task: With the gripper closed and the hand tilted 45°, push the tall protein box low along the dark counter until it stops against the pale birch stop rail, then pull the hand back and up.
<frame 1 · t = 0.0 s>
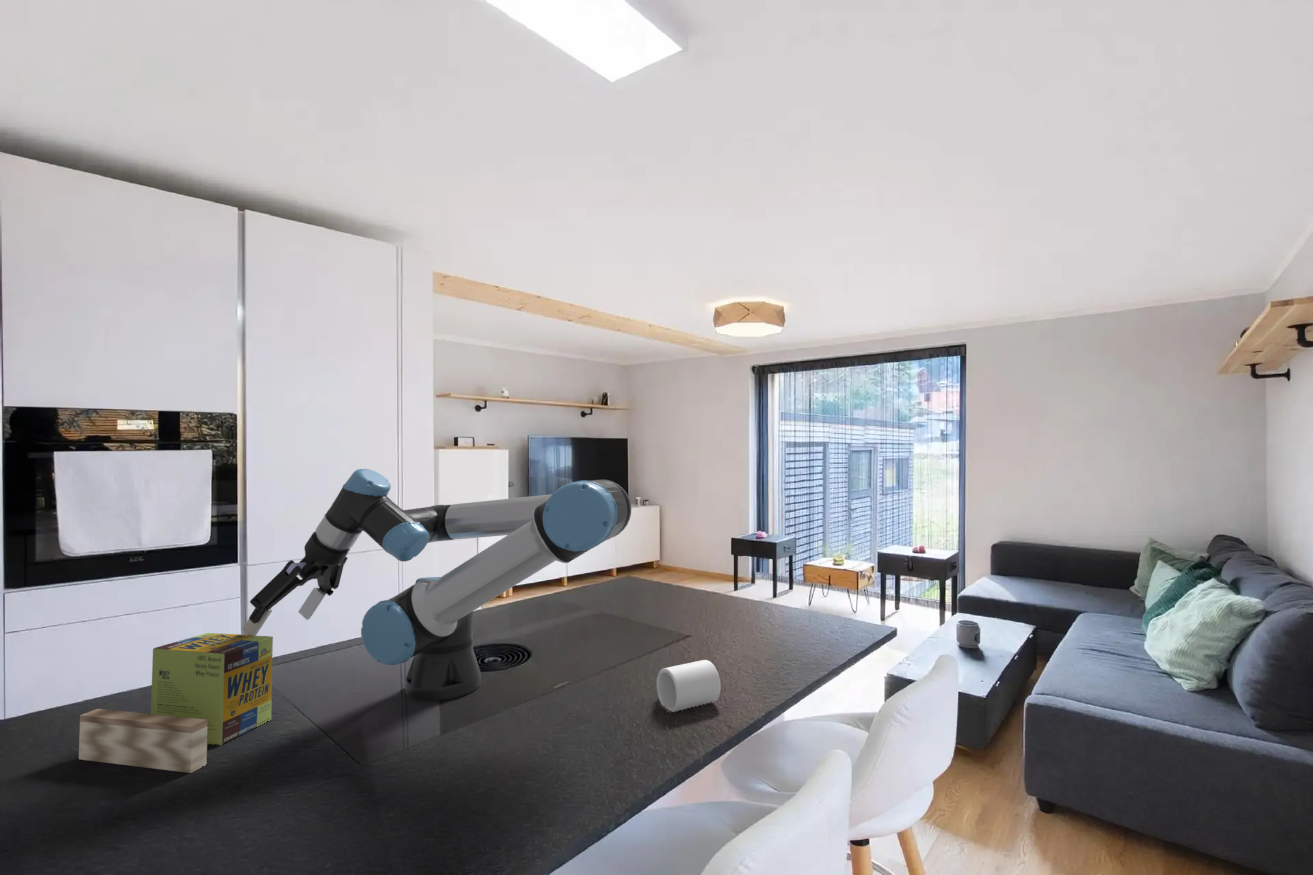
hand: (277, 624, 121), 15 cm above the kitchen island, tool tilted 35°, fingers open, 13 cm apart
protein box: (212, 730, 109), on the kitchen island
stop rail: (141, 761, 97), on the kitchen island
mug: (683, 703, 120), on the kitchen island
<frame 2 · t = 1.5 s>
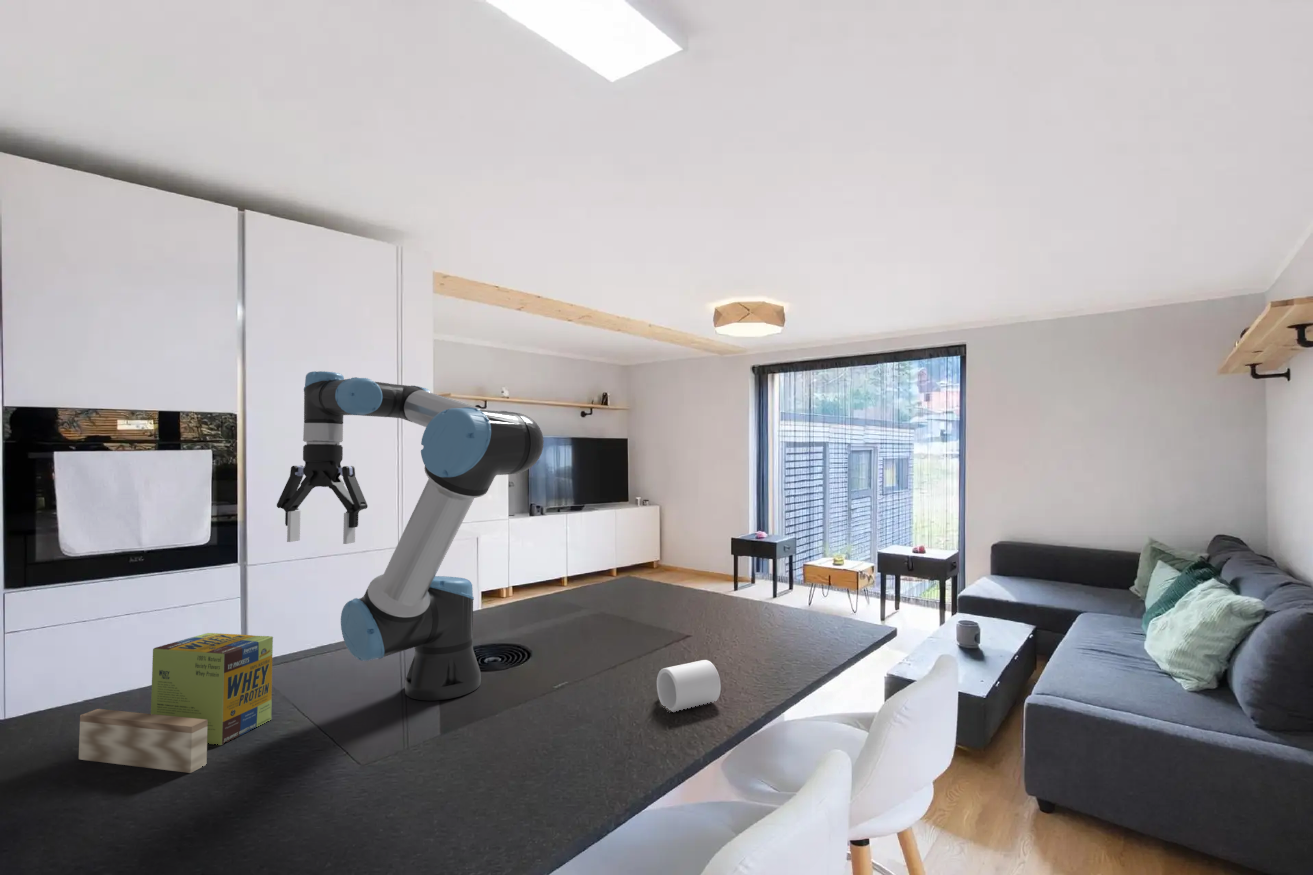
hand: (321, 542, 130), 31 cm above the kitchen island, tool pointing down, fingers open, 13 cm apart
nothing on the kitchen island moved.
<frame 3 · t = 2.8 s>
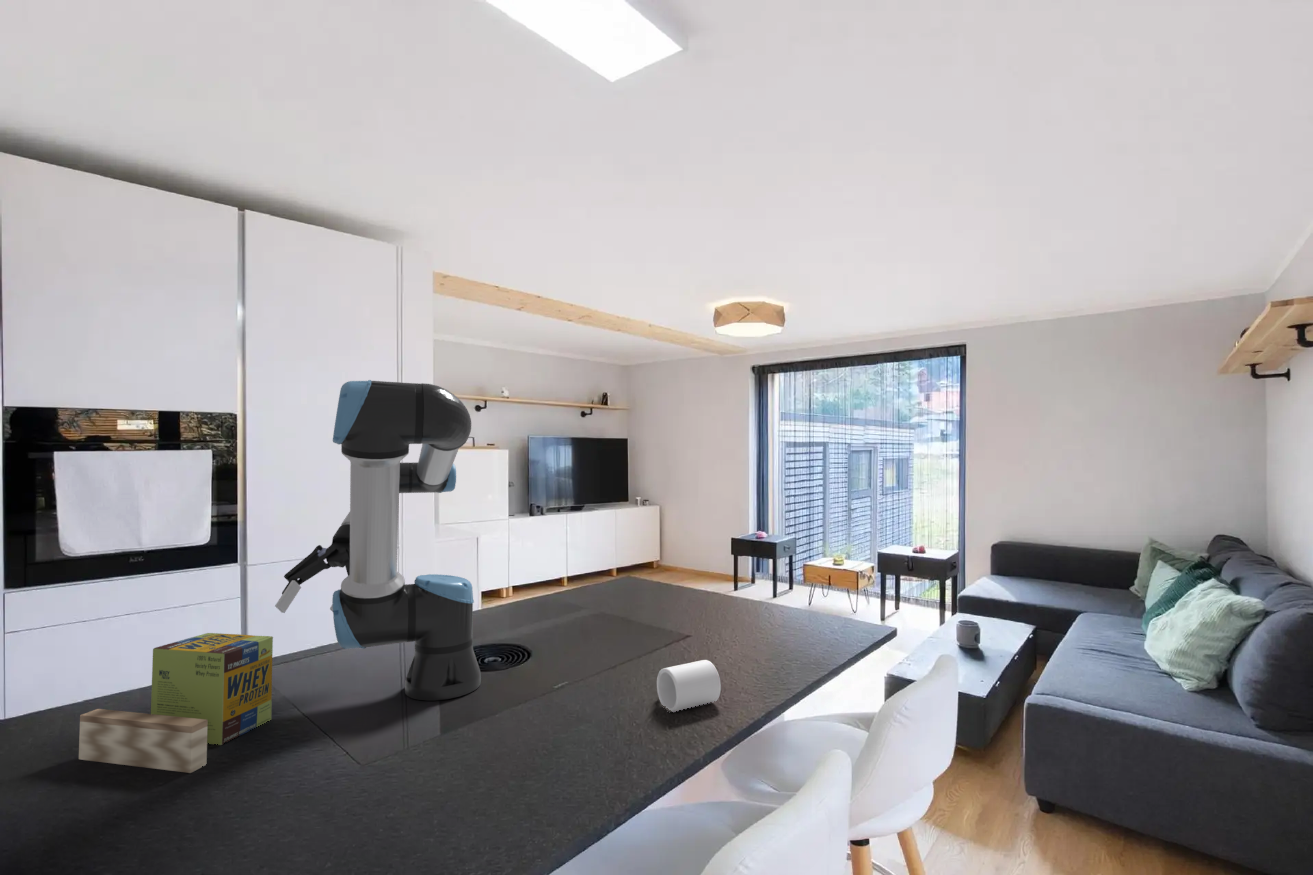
hand: (306, 610, 130), 16 cm above the kitchen island, tool tilted 45°, fingers open, 13 cm apart
nothing on the kitchen island moved.
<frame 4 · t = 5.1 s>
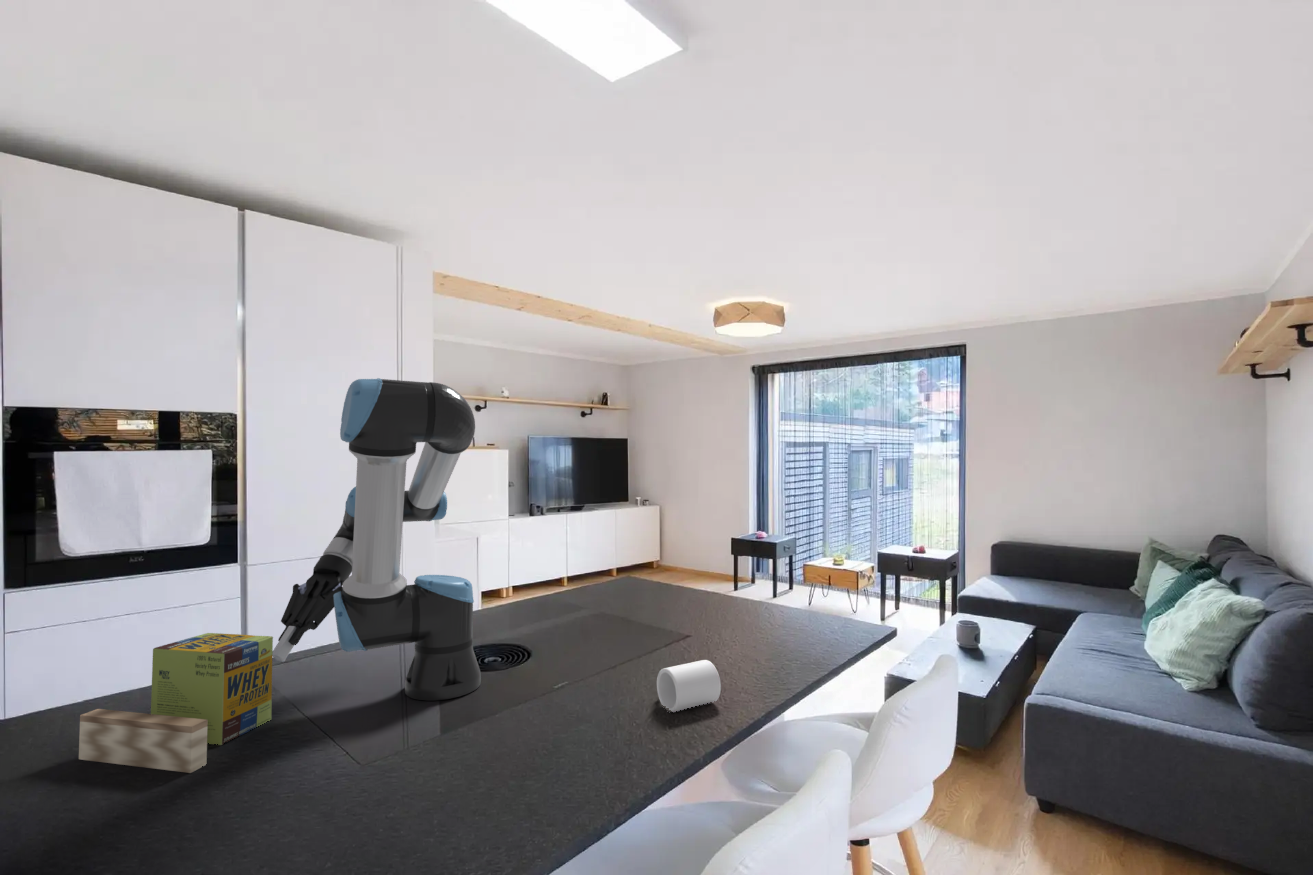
hand: (277, 658, 124), 8 cm above the kitchen island, tool tilted 45°, fingers closed
nothing on the kitchen island moved.
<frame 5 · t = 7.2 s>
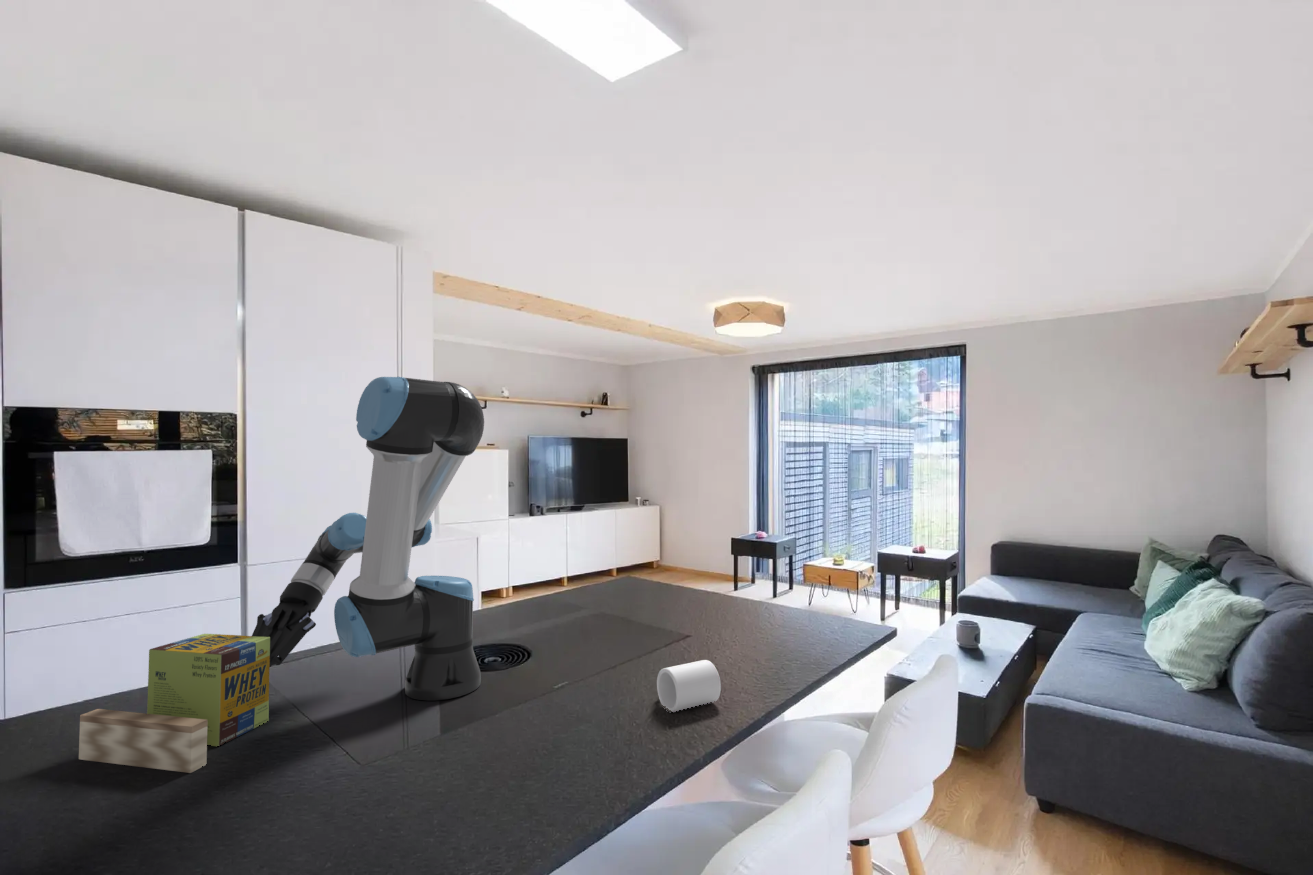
hand: (237, 697, 115), 3 cm above the kitchen island, tool tilted 45°, fingers closed
nothing on the kitchen island moved.
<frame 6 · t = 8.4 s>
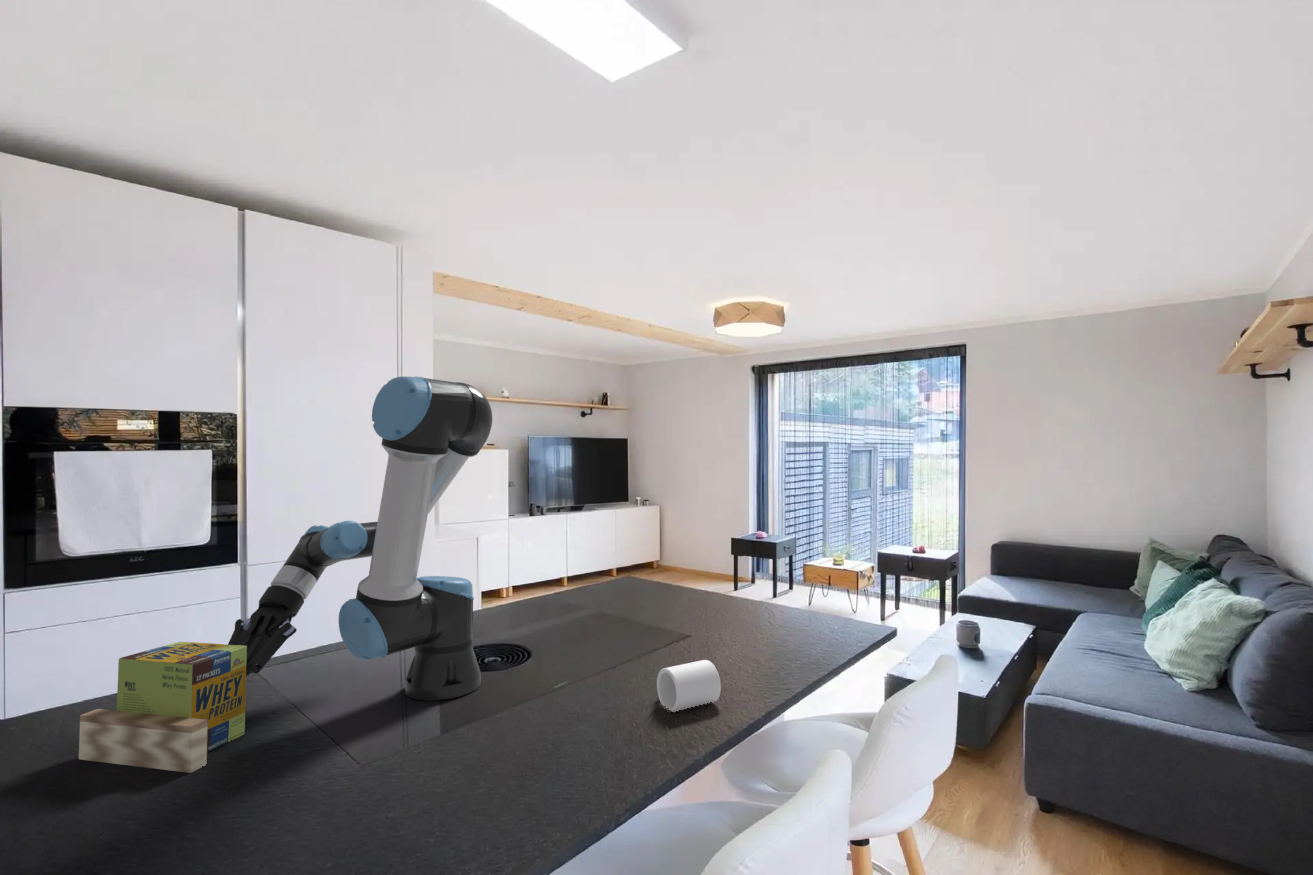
hand: (212, 707, 109), 3 cm above the kitchen island, tool tilted 45°, fingers closed
protein box: (182, 744, 103), on the kitchen island, touching gripper, stop rail
everything else where it was.
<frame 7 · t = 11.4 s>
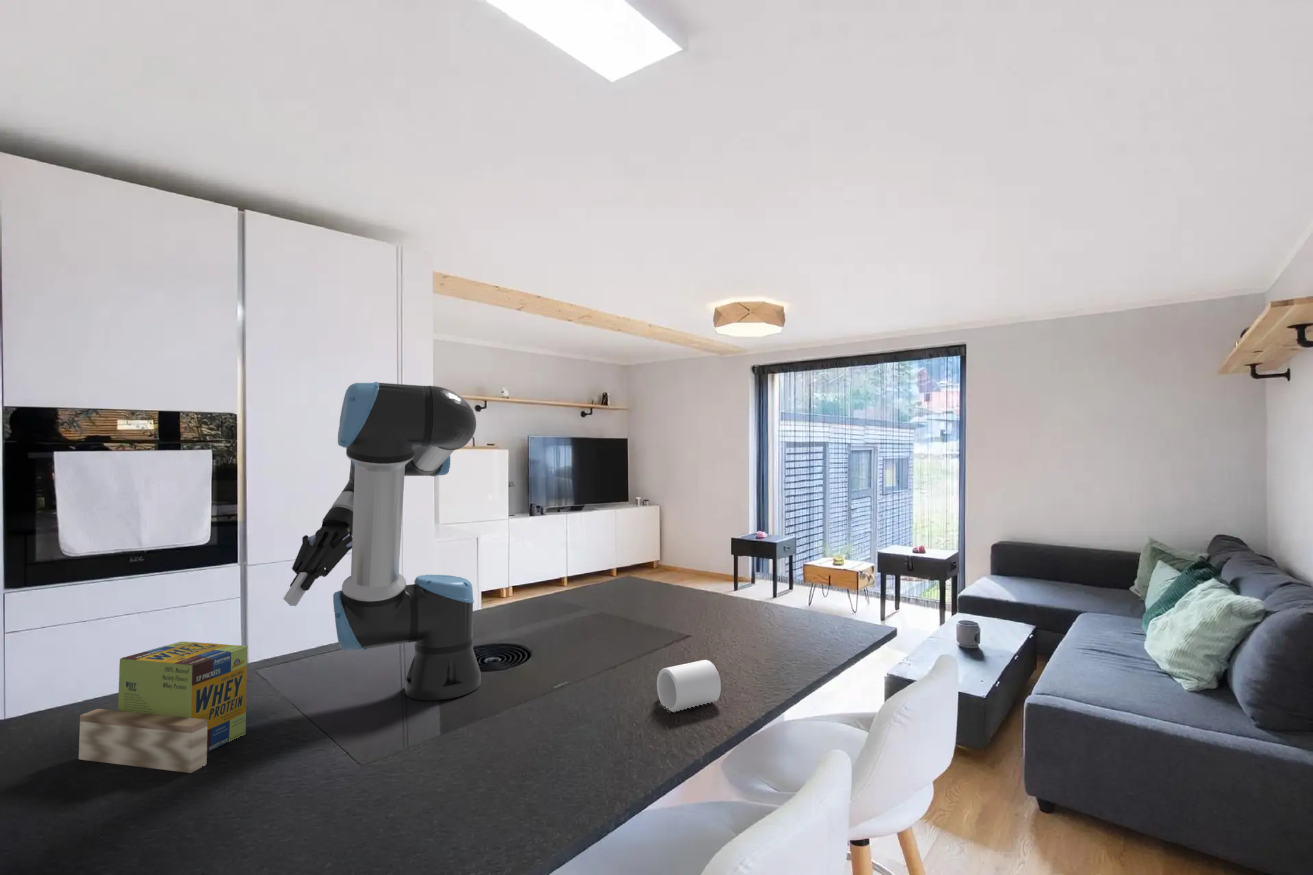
hand: (289, 602, 126), 19 cm above the kitchen island, tool tilted 45°, fingers closed
protein box: (183, 744, 103), on the kitchen island
everything else where it was.
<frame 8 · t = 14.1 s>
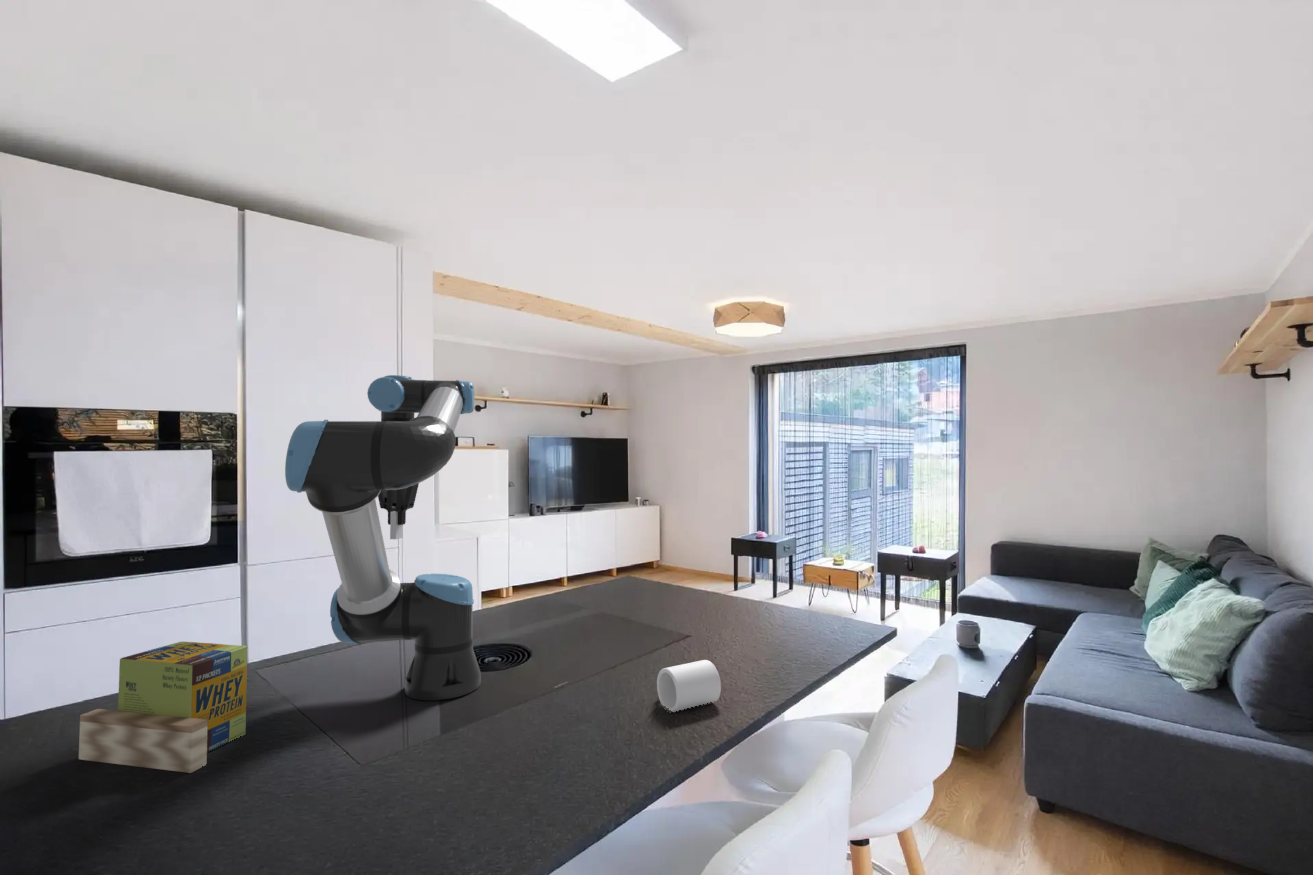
hand: (396, 538, 145), 29 cm above the kitchen island, tool pointing down, fingers closed
nothing on the kitchen island moved.
at the end: protein box inside the target area (0.4 cm from its centre), on the kitchen island; protein box tilted 0° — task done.
